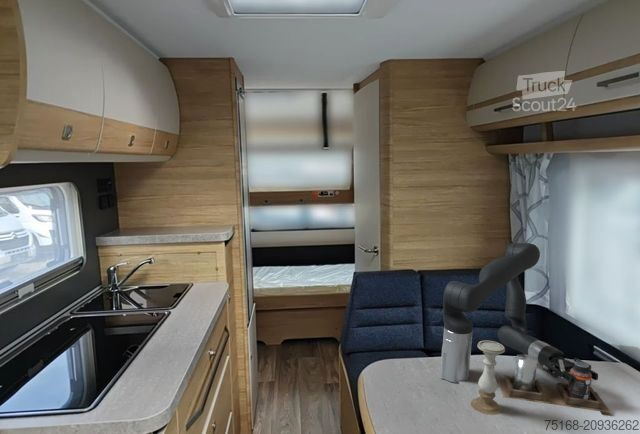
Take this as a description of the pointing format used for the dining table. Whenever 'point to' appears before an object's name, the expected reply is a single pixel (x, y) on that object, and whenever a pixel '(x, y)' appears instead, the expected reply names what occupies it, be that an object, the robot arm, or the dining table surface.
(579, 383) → the supplement bottle
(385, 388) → the dining table surface
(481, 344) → the candle holder
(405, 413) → the dining table surface
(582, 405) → the wooden divided tray
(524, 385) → the can
